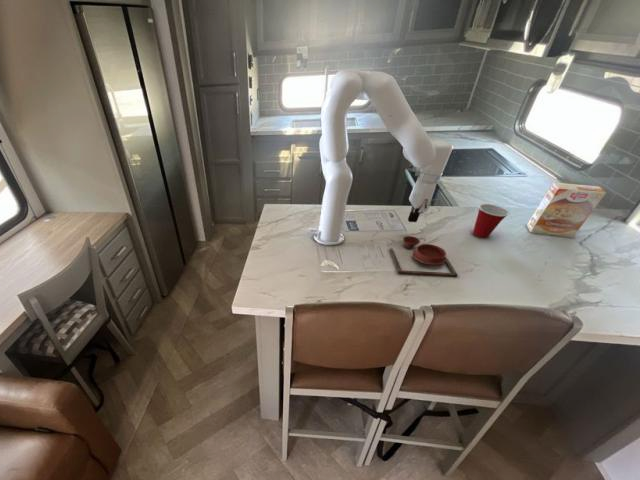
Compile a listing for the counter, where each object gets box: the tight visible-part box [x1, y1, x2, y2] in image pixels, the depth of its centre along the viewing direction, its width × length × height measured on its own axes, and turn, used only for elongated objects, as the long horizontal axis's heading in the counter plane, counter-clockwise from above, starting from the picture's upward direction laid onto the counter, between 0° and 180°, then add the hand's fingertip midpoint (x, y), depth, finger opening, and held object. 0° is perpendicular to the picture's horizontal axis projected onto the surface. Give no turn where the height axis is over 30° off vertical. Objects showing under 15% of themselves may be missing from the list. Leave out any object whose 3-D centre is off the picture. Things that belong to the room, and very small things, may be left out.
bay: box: [389, 247, 458, 278], centre depth 122 cm, size 20×16×1 cm
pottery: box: [402, 236, 447, 266], centre depth 125 cm, size 12×20×4 cm, turn 15°
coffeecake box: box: [526, 181, 607, 238], centre depth 130 cm, size 15×7×20 cm, turn 68°
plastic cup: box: [472, 203, 510, 239], centre depth 132 cm, size 11×11×12 cm
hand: (411, 221), depth 132 cm, fingers closed
